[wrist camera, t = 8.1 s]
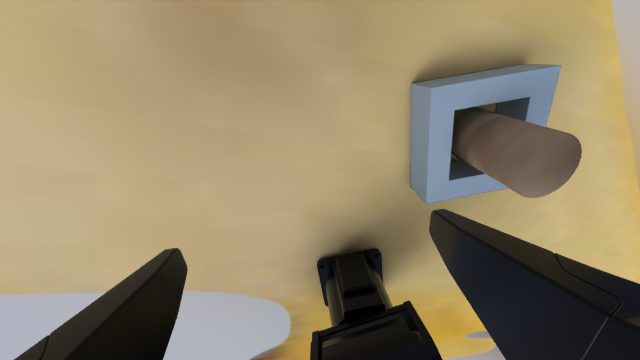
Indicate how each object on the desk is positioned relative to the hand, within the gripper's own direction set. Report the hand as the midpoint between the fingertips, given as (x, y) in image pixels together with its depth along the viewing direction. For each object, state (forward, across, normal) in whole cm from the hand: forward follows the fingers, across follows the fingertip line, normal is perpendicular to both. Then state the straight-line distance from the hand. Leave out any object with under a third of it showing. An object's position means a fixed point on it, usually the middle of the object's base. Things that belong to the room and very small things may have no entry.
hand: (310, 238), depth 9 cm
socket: (+13, -14, +1) cm, 19 cm away
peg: (+13, -14, +1) cm, 19 cm away
